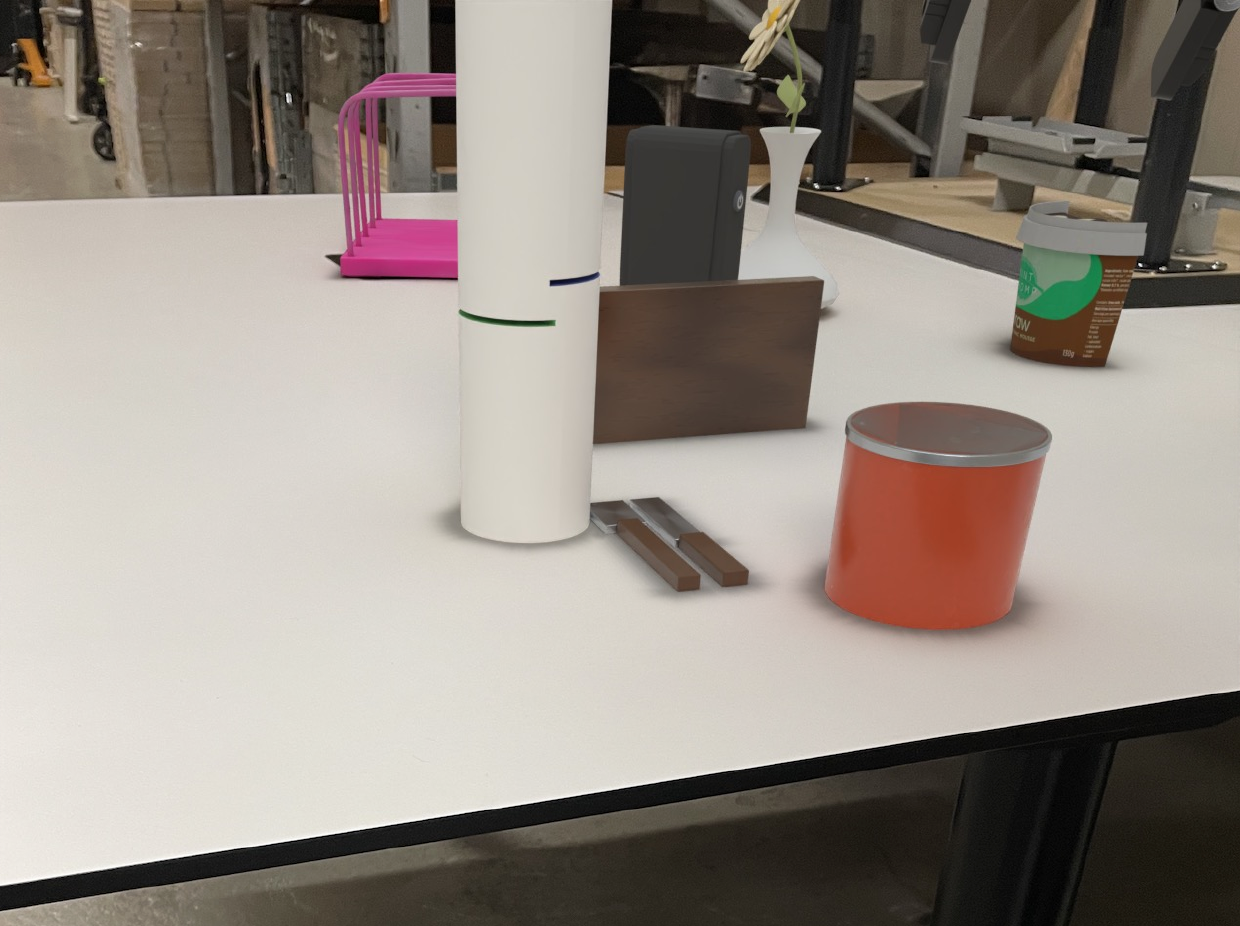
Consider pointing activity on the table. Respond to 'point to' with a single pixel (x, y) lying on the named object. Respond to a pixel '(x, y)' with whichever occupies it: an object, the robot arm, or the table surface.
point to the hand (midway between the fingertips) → (1048, 66)
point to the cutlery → (676, 532)
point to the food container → (1072, 284)
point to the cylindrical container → (529, 260)
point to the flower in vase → (783, 170)
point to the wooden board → (705, 357)
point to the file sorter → (382, 239)
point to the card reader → (683, 205)
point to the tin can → (934, 513)
